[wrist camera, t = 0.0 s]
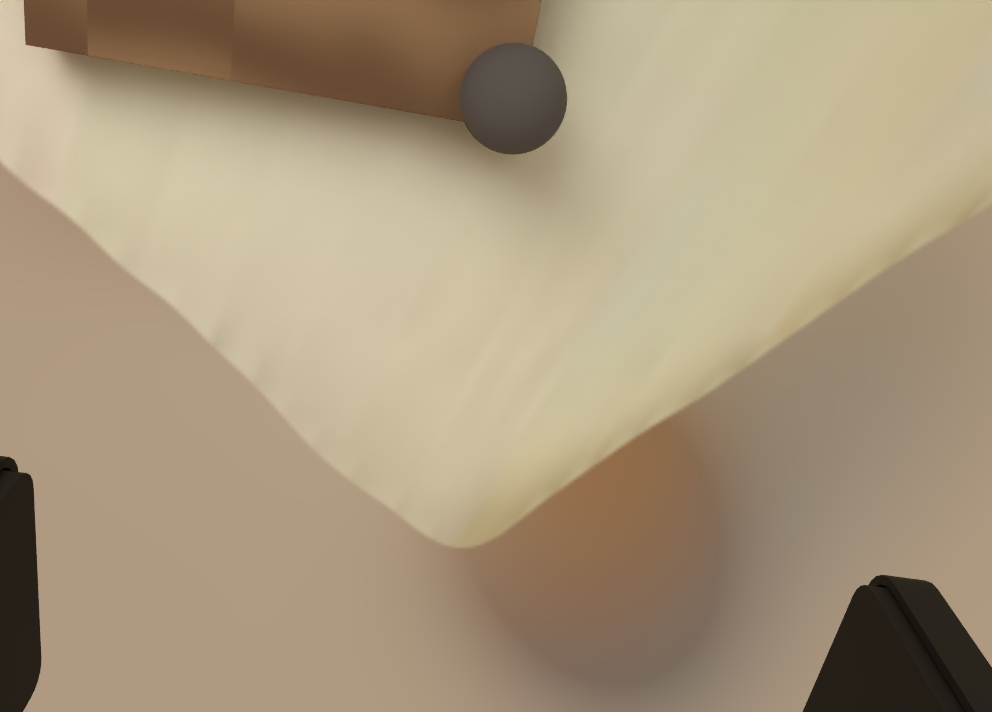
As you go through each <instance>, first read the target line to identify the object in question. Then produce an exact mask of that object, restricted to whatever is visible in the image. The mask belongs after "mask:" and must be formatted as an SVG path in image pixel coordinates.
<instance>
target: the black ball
mask: <svg viewBox="0 0 992 712" xmlns="http://www.w3.org/2000/svg"><path fill="white" fill-rule="evenodd" d="M459 102H460V110H461V114H462V117H463V120H464V122H465V125H466V127H467V128H468V130H469V131H470V133H471V134H472V135H473V137H474V138H475V139H476V140H478V141H479V142H480V143H481V144H483V145H484V146H485V147H487V148H489V149H491V150H493V151H496V152H499V153H503V154H522V153H527V152H530V151H533V150H535V149H537V148H539V147H540V146H542V145H543V144H545V143H546V142H547V141H548V140H549V139H550V138H551V137H552V136H553V135H554V134H555V133H556V131H557V130H558V128H559V126H560V125H561V123H562V120H563V118H564V115H565V111H566V105H567V92H566V86H565V82H564V79H563V76H562V74H561V72H560V70H559V68H558V67H557V65H556V64H555V63H554V61H553V60H552V59H551V58H550V57H549V56H548V55H546V54H545V53H544V52H542V51H541V50H539V49H537V48H535V47H533V46H530V45H527V44H523V43H505V44H500V45H497V46H494V47H492V48H490V49H488V50H486V51H484V52H483V53H482V54H480V55H479V56H478V57H477V58H476V59H475V60H474V61H473V62H472V64H471V65H470V66H469V68H468V69H467V71H466V73H465V75H464V78H463V80H462V83H461V88H460V95H459Z"/></svg>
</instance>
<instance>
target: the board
mask: <svg viewBox="0 0 992 712" xmlns="http://www.w3.org/2000/svg"><path fill="white" fill-rule="evenodd" d="M540 2H541V0H24V16H25V41H26V45H31V46H36V47H42V48H48V49H54V50H59V51H65V52H71V53H76V54H82V55H88V56H93V57H99V58H105V59H111V60H116V61H122V62H128V63H133V64H139V65H145V66H150V67H156V68H162V69H168V70H173V71H179V72H185V73H190V74H196V75H202V76H208V77H213V78H219V79H225V80H230V81H236V82H242V83H247V84H253V85H259V86H265V87H270V88H276V89H282V90H287V91H293V92H299V93H304V94H310V95H316V96H322V97H327V98H333V99H339V100H344V101H350V102H356V103H362V104H367V105H373V106H379V107H384V108H390V109H396V110H401V111H407V112H413V113H419V114H424V115H430V116H436V117H441V118H447V119H453V120H458V121H464V120H463V117H462V114H461V110H460V102H459V95H460V88H461V83H462V80H463V78H464V75H465V73H466V71H467V69H468V68H469V66H470V65H471V64H472V62H473V61H474V60H475V59H476V58H477V57H478V56H479V55H480V54H482V53H483V52H484V51H486V50H488V49H490V48H492V47H494V46H497V45H500V44H505V43H523V44H527V45H530V46H533V40H534V35H535V29H536V24H537V19H538V13H539V8H540Z"/></svg>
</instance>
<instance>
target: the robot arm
mask: <svg viewBox="0 0 992 712" xmlns="http://www.w3.org/2000/svg"><path fill="white" fill-rule="evenodd" d="M40 668H41V642H40V620H39V599H38V577H37V555H36V533H35V512H34V488H33V480H32V478H31V476H30V475H29V474H27V473H20V472H18V467H17V464H16V463H15V460H14V459H12V458H10V457H4V456H0V712H23V710H24V709H25V707H26V705H27V703H28V701H29V700H30V698H31V696H32V694H33V692H34V690H35V687H36V684H37V681H38V678H39V674H40ZM803 712H992V667H991V666H990V664H989V663H988V661H987V660H986V658H985V657H984V656H983V654H982V653H981V651H980V650H979V649H978V647H977V645H976V644H975V643H974V641H973V640H972V638H971V637H970V635H969V634H968V632H967V631H966V629H965V628H964V627H963V625H962V624H961V622H960V621H959V619H958V618H957V616H956V615H955V614H954V612H953V611H952V609H951V608H950V606H949V605H948V603H947V602H946V601H945V599H944V598H943V596H942V595H941V594H940V592H939V590H938V589H937V588H936V587H935V586H934V585H933V584H932V583H930V582H927V581H924V580H917V579H909V578H902V577H894V576H887V575H880V576H876V577H875V578H874V579H873V580H871V582H870V584H869V585H863V586H860V587H859V588H858V589H857V590H856V591H855V593H854V595H853V597H852V599H851V602H850V604H849V606H848V608H847V611H846V613H845V615H844V618H843V620H842V622H841V625H840V627H839V630H838V632H837V634H836V636H835V638H834V641H833V643H832V645H831V648H830V650H829V652H828V655H827V657H826V659H825V662H824V664H823V666H822V668H821V671H820V673H819V675H818V678H817V680H816V682H815V685H814V687H813V689H812V692H811V694H810V696H809V698H808V701H807V703H806V705H805V708H804V710H803Z"/></svg>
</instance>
